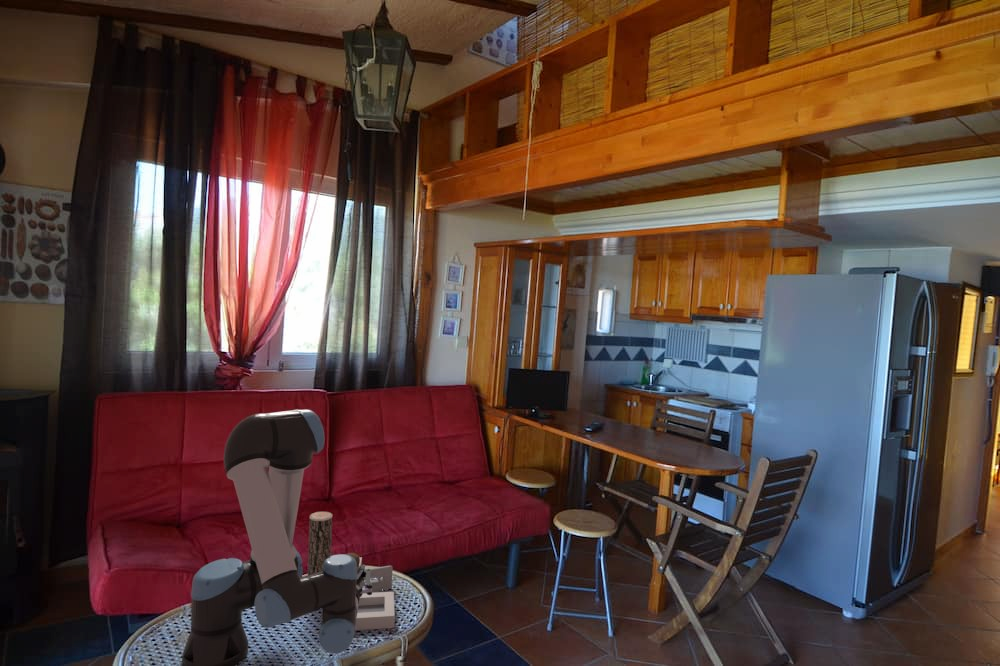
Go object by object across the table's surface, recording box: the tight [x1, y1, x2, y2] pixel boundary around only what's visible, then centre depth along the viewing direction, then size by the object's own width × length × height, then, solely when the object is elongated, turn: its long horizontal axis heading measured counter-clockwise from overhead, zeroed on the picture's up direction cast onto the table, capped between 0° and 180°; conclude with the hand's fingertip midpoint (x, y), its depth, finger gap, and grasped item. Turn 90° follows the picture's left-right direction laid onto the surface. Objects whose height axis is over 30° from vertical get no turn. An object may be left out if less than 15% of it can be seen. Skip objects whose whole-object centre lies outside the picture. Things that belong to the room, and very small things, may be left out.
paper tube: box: [307, 511, 333, 576], centre depth 181 cm, size 7×7×25 cm
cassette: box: [360, 565, 393, 593], centre depth 184 cm, size 12×2×8 cm, turn 115°
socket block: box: [355, 591, 396, 631], centre depth 170 cm, size 14×14×4 cm
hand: (351, 562), depth 164 cm, fingers closed on cork, 4 cm apart
